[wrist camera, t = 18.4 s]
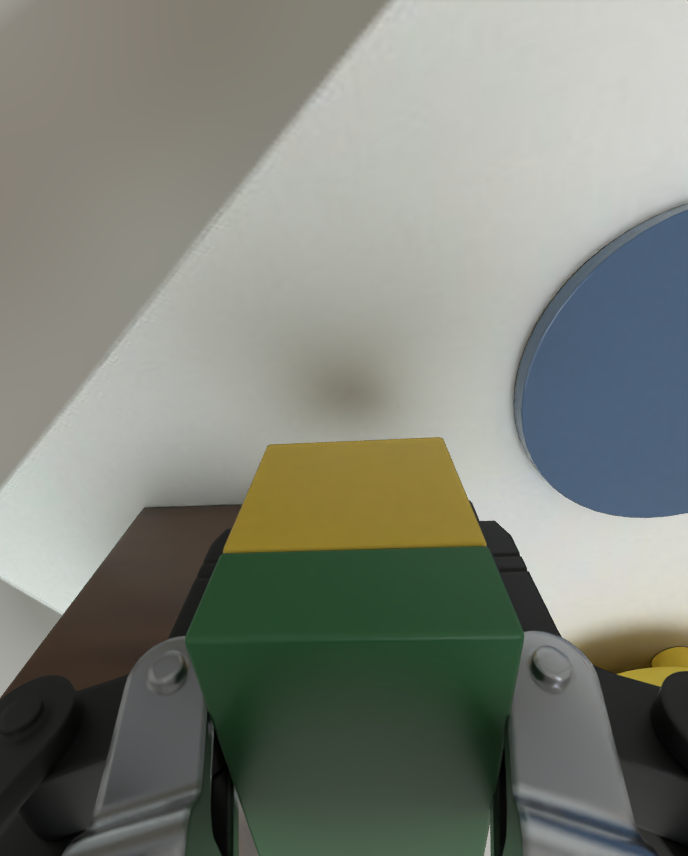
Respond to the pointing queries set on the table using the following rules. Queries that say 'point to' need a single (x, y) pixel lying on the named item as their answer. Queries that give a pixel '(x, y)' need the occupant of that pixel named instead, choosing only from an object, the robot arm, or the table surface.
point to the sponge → (359, 653)
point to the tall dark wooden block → (133, 604)
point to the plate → (614, 377)
